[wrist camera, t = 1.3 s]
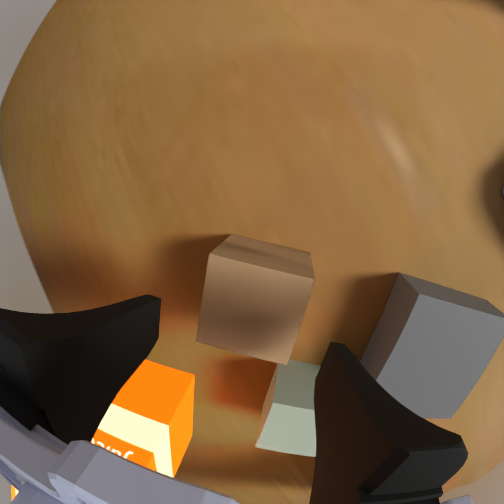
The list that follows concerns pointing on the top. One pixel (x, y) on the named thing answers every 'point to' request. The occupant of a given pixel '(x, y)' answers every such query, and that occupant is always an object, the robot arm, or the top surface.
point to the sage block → (290, 410)
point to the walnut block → (255, 298)
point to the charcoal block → (432, 345)
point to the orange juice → (149, 419)
